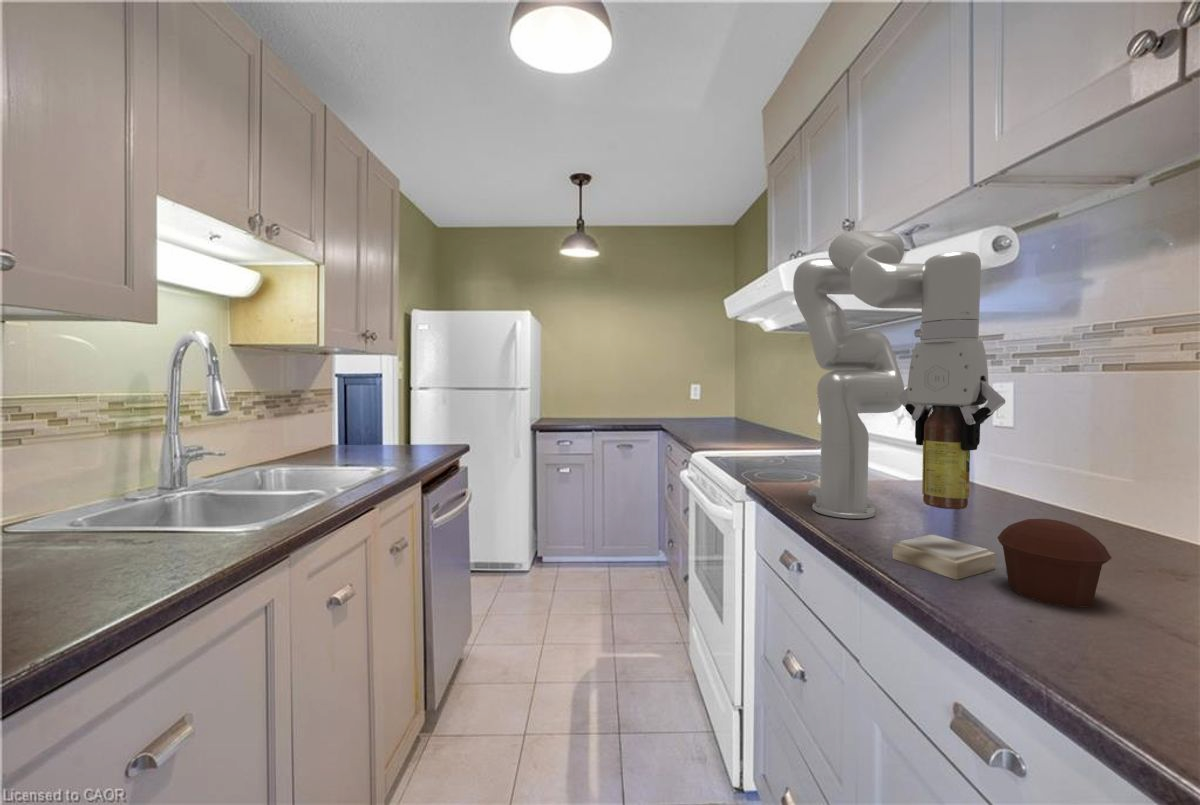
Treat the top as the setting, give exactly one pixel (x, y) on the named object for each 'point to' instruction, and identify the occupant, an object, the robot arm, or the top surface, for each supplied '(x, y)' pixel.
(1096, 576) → the muffin
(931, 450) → the sauce bottle
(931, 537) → the birch riser
